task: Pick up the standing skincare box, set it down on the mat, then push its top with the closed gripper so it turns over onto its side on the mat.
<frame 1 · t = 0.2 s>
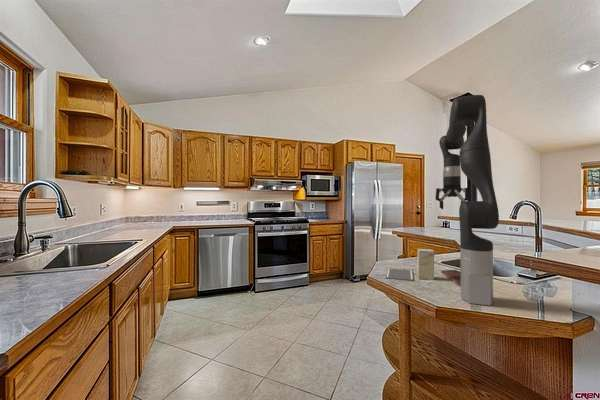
hand: (452, 209, 134), 29 cm above the table, fingers open, 8 cm apart
skincare box: (425, 278, 118), on the table
mat: (399, 274, 123), on the table
wooden tablet: (460, 280, 117), on the table
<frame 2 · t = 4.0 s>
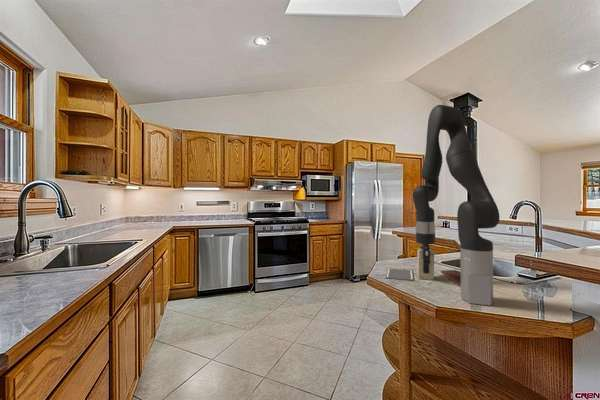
hand: (425, 271, 118), 3 cm above the table, fingers closed on skincare box, 4 cm apart
skincare box: (425, 278, 118), on the table, touching gripper
everything else where it was.
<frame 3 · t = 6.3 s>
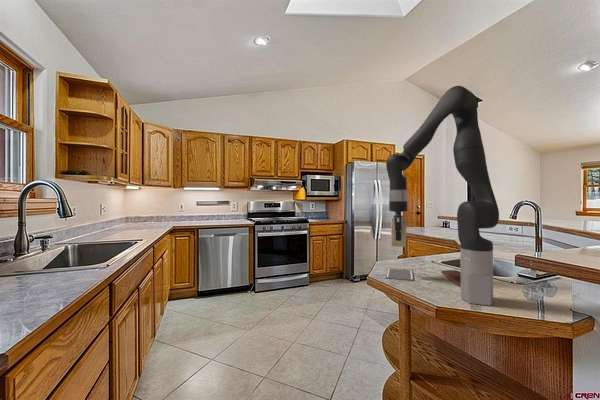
hand: (398, 239, 120), 16 cm above the table, fingers closed on skincare box, 4 cm apart
skincare box: (398, 246, 120), point 13 cm above the table, touching gripper
everything else where it was.
when the fingers open (4 cm above the table, at t = 8.8 s): skincare box stays where it is, resting on mat.
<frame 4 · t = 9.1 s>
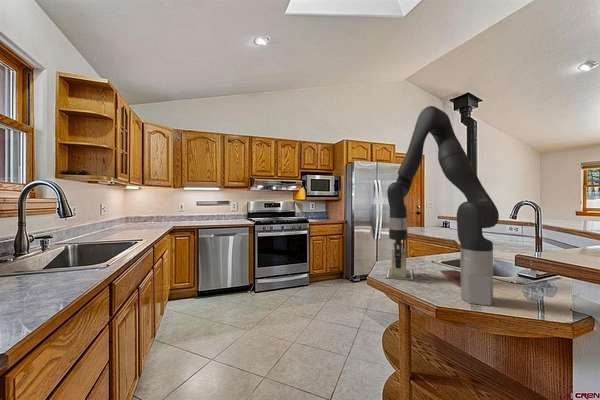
hand: (398, 266, 120), 5 cm above the table, fingers open, 7 cm apart
skincare box: (398, 276, 120), resting on mat
everything else where it was.
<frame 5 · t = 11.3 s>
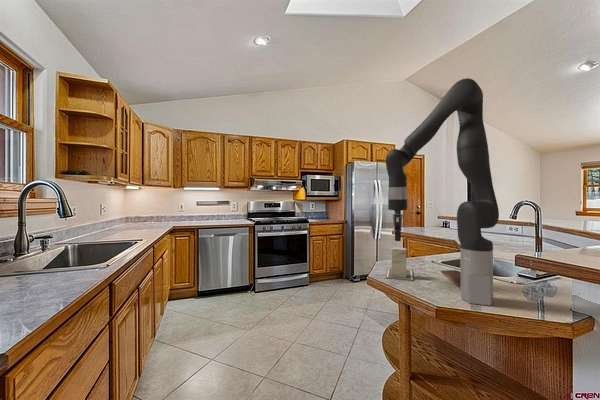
hand: (397, 240, 113), 17 cm above the table, fingers open, 3 cm apart
nothing on the table moved.
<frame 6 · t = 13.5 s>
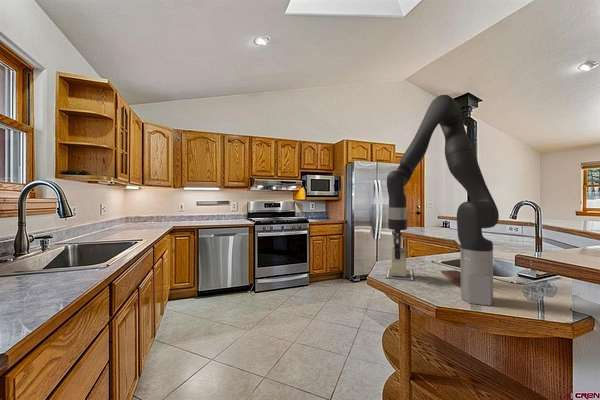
hand: (397, 258, 117), 9 cm above the table, fingers closed
skincare box: (398, 275, 120), resting on mat, touching gripper
everything else where it was.
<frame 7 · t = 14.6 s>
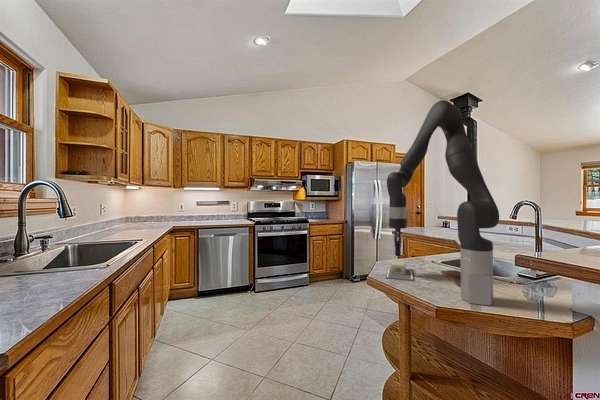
hand: (397, 255, 123), 9 cm above the table, fingers closed
skincare box: (398, 270, 122), point 2 cm above the table, touching mat
everything else where it was.
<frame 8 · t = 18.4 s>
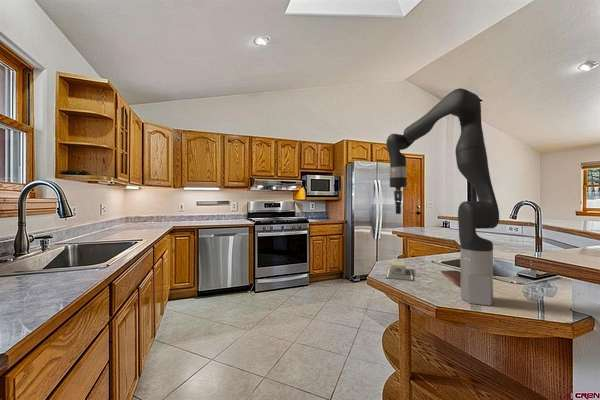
hand: (398, 213, 129), 27 cm above the table, fingers closed
nothing on the table moved.
at the end: skincare box tilted 89°; skincare box 2.1 cm from the mat (horizontally); the gripper is holding nothing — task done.
